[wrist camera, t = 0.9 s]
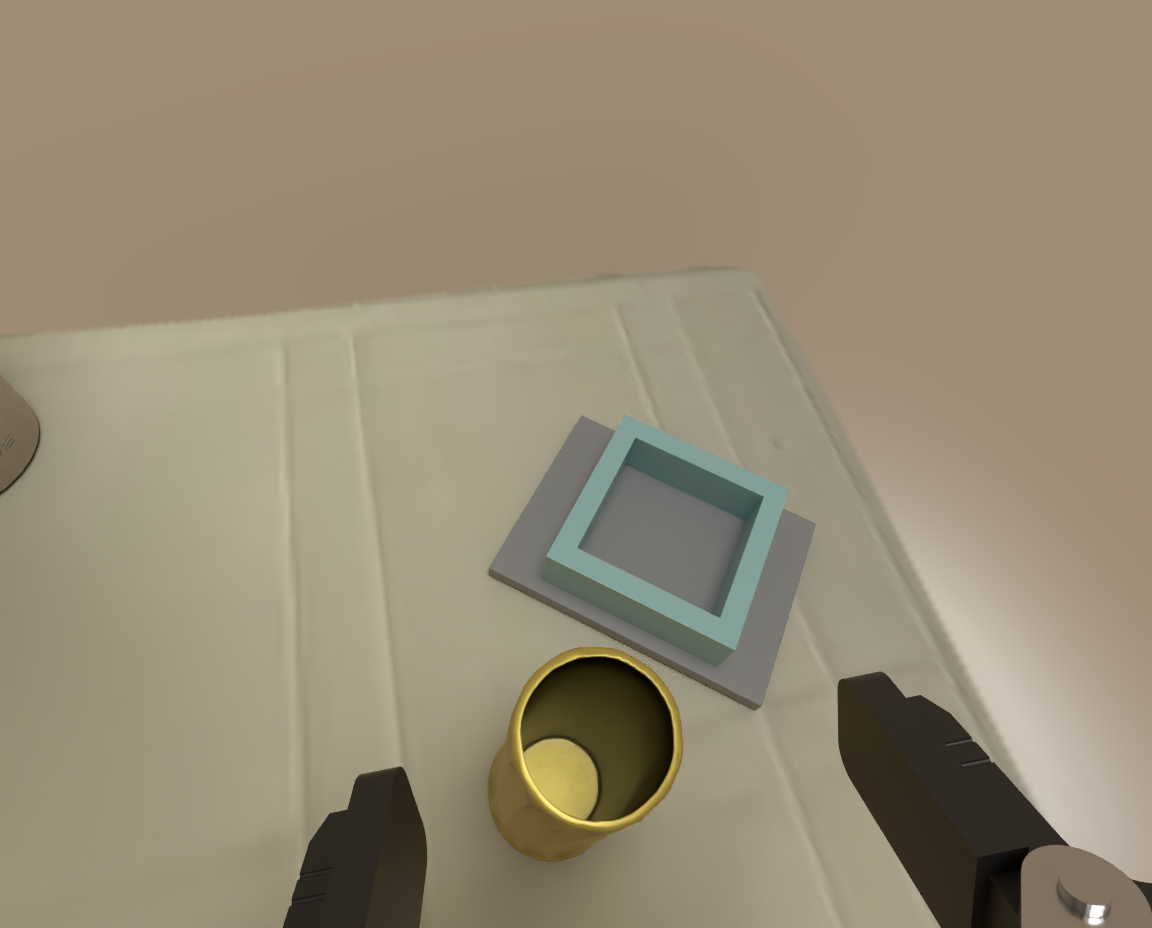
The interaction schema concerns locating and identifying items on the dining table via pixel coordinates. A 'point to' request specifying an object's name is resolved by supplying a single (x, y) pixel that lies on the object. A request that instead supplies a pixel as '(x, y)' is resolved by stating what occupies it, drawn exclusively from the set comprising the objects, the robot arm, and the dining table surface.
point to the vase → (584, 753)
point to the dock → (663, 553)
